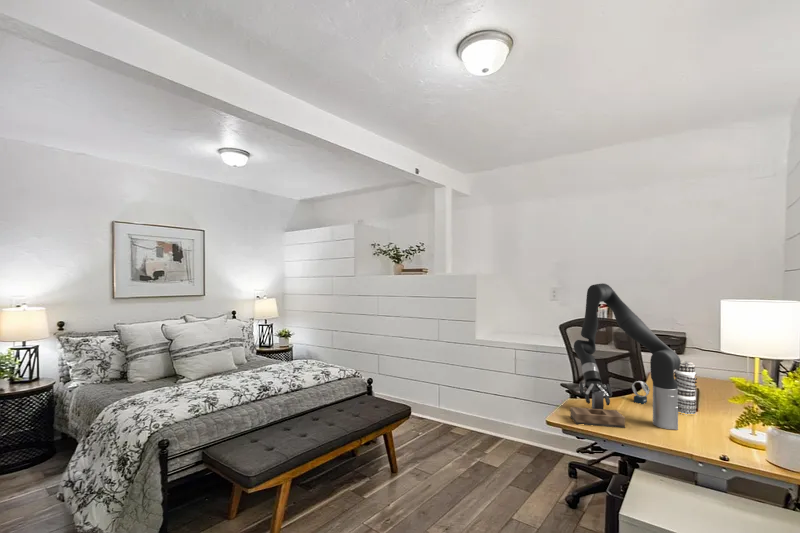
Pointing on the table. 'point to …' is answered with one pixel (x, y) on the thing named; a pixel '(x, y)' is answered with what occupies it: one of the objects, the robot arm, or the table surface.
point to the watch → (638, 397)
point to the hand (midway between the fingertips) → (598, 403)
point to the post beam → (597, 417)
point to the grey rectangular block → (597, 399)
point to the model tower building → (686, 387)
